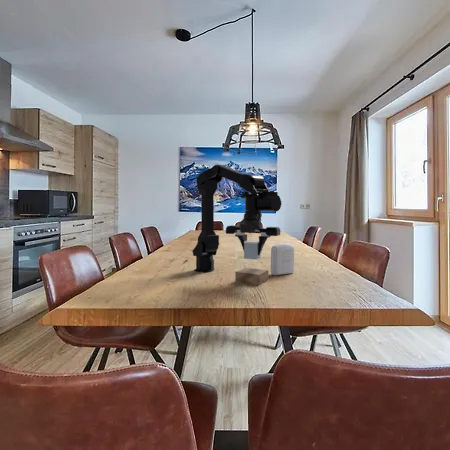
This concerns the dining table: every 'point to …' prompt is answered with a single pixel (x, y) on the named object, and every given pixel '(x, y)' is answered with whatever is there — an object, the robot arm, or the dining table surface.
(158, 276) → the dining table surface
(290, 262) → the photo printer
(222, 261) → the dining table surface
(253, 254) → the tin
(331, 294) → the dining table surface
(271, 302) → the dining table surface
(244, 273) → the walnut block
